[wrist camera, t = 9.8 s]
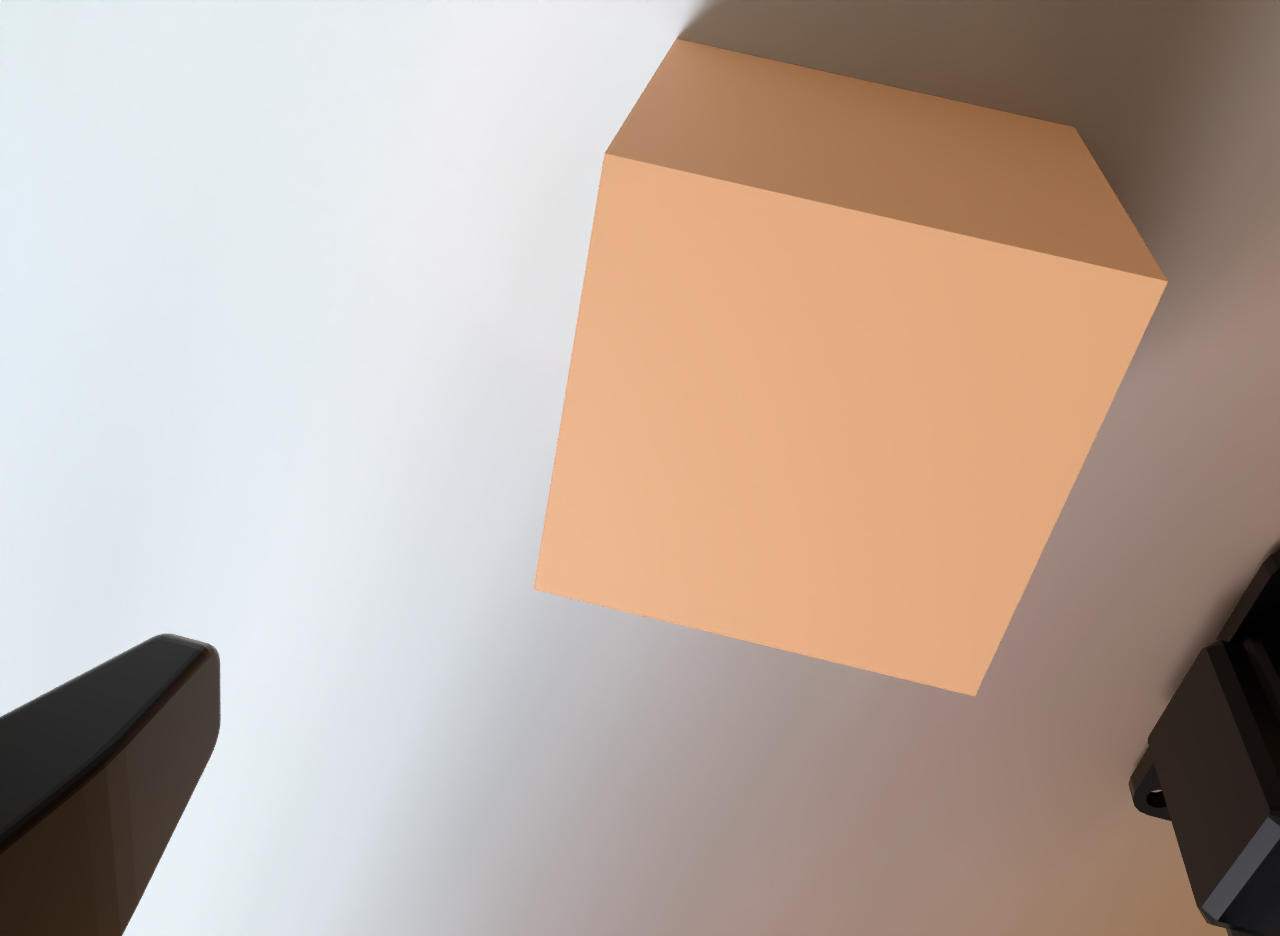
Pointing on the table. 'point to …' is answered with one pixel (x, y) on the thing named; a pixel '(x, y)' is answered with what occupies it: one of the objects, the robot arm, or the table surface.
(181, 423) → the table surface
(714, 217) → the terracotta cube
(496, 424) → the table surface
